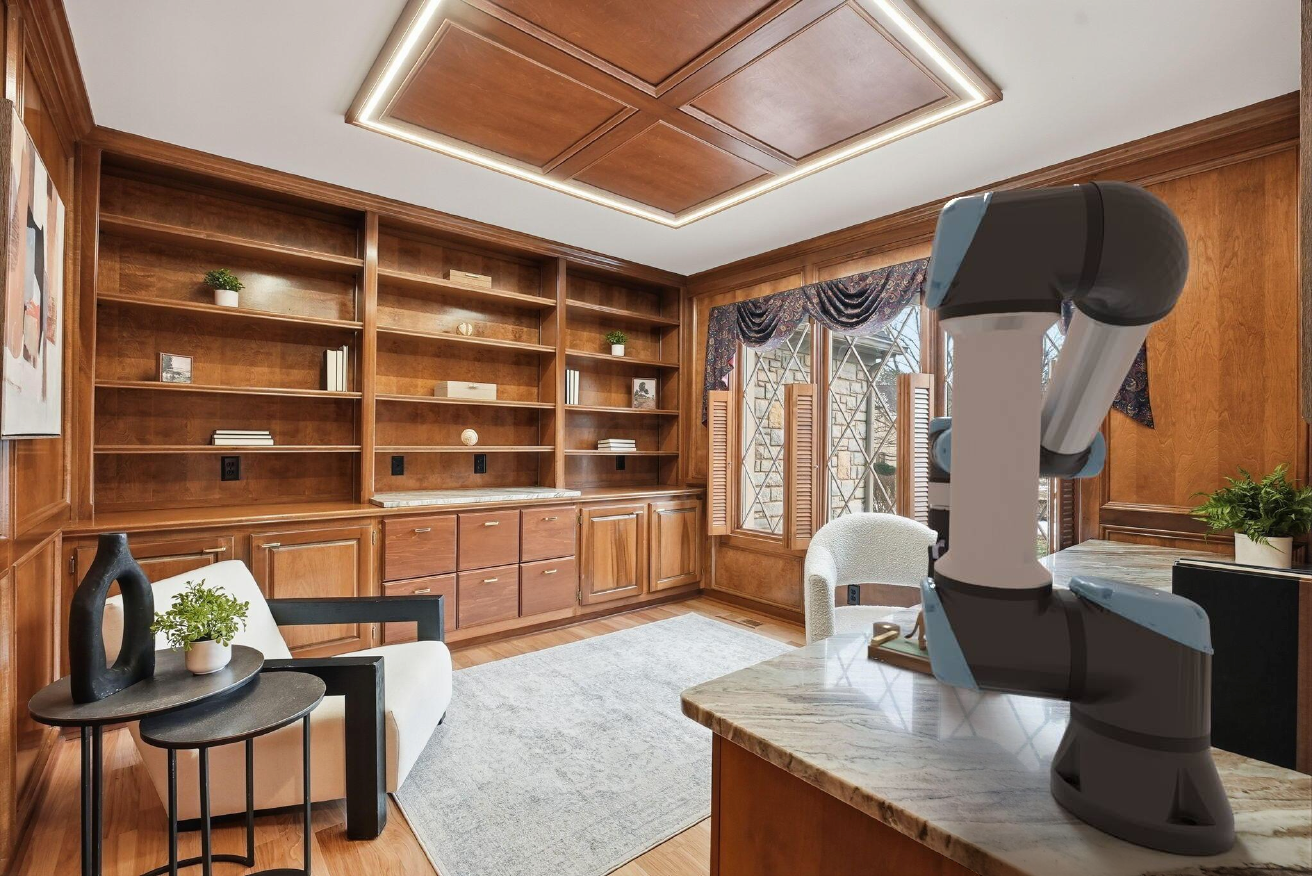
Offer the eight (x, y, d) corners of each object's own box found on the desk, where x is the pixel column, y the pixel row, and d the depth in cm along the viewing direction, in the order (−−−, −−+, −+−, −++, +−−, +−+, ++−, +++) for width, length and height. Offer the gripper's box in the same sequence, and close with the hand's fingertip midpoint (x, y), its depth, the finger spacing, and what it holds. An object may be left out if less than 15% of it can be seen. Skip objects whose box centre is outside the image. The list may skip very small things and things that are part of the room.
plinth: (993, 691, 96) (993, 672, 97) (867, 656, 112) (867, 640, 112) (1015, 676, 103) (1015, 658, 103) (893, 645, 119) (894, 629, 119)
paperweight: (892, 646, 118) (892, 630, 118) (868, 640, 122) (868, 625, 122) (904, 641, 122) (904, 625, 122) (880, 635, 125) (880, 620, 125)
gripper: (950, 513, 97) (949, 661, 97) (996, 506, 111) (995, 636, 110) (903, 509, 102) (902, 649, 102) (953, 503, 116) (952, 627, 116)
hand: (950, 642), depth 106 cm, fingers open, 7 cm apart
